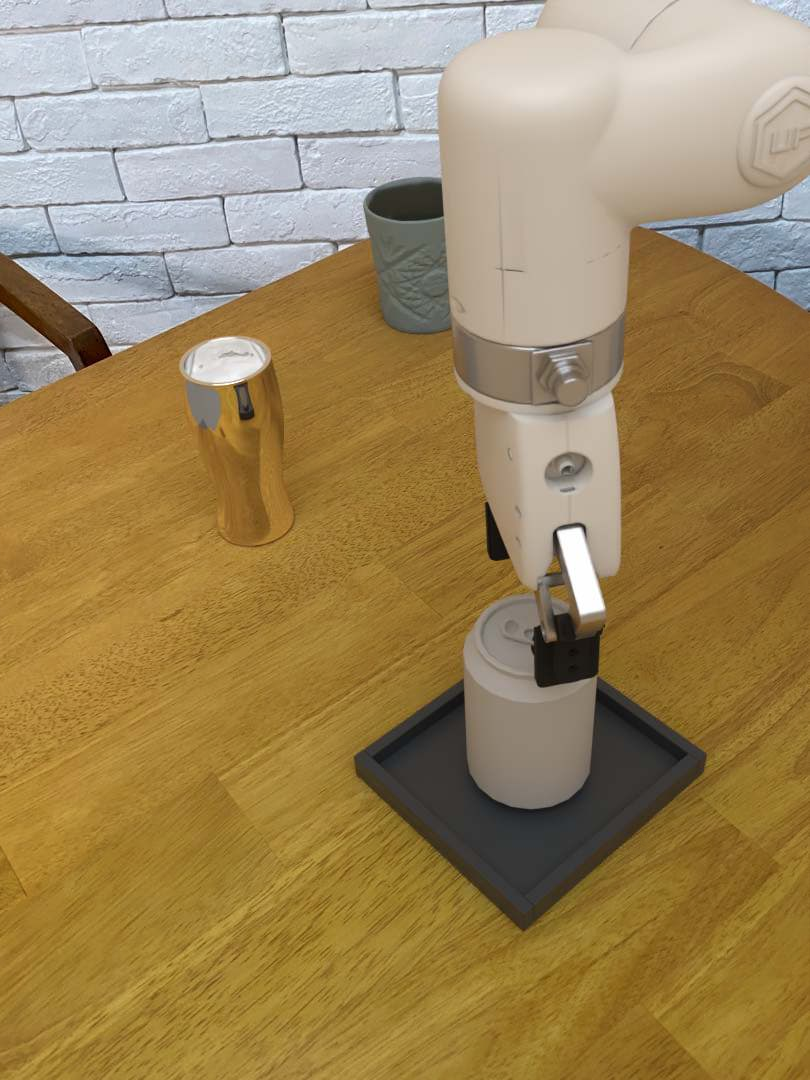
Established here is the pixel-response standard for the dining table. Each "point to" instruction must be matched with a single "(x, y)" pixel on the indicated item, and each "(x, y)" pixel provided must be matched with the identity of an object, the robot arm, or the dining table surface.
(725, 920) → the dining table surface
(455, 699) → the tray
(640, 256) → the dining table surface
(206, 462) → the beer glass
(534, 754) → the can
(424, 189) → the embossed green cup
